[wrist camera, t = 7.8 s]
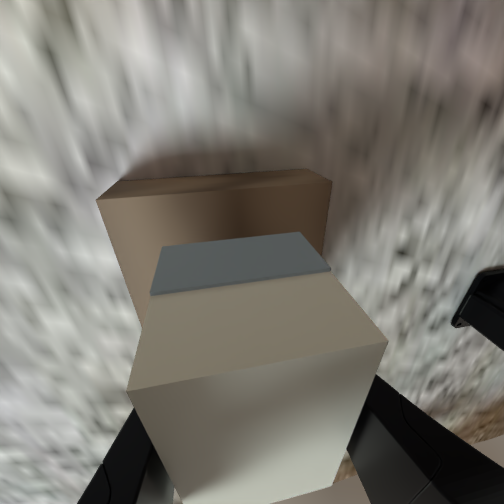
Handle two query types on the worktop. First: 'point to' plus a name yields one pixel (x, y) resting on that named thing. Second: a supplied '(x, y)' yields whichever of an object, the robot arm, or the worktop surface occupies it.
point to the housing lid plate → (254, 386)
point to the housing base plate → (234, 262)
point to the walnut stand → (207, 216)
